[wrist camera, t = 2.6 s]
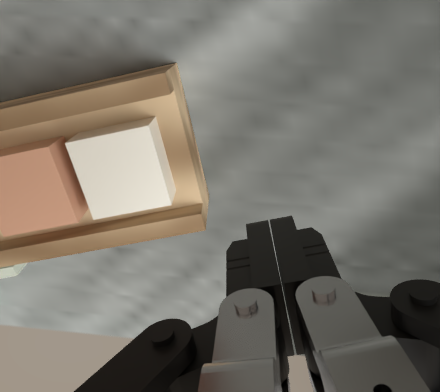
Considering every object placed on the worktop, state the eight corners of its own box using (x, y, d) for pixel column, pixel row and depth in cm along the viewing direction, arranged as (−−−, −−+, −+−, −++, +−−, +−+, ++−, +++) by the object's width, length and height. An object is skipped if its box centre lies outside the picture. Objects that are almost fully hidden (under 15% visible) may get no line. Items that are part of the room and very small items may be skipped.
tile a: (78, 132, 25) (64, 143, 23) (155, 116, 25) (148, 125, 23) (104, 203, 27) (93, 219, 25) (176, 189, 27) (171, 205, 25)
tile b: (-10, 151, 26) (-32, 163, 24) (63, 135, 26) (48, 146, 23) (21, 219, 28) (3, 236, 26) (90, 206, 28) (78, 222, 25)
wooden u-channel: (-27, 108, 29) (-82, 127, 24) (176, 62, 28) (164, 72, 22) (27, 230, 33) (-10, 269, 28) (209, 195, 31) (205, 230, 26)
